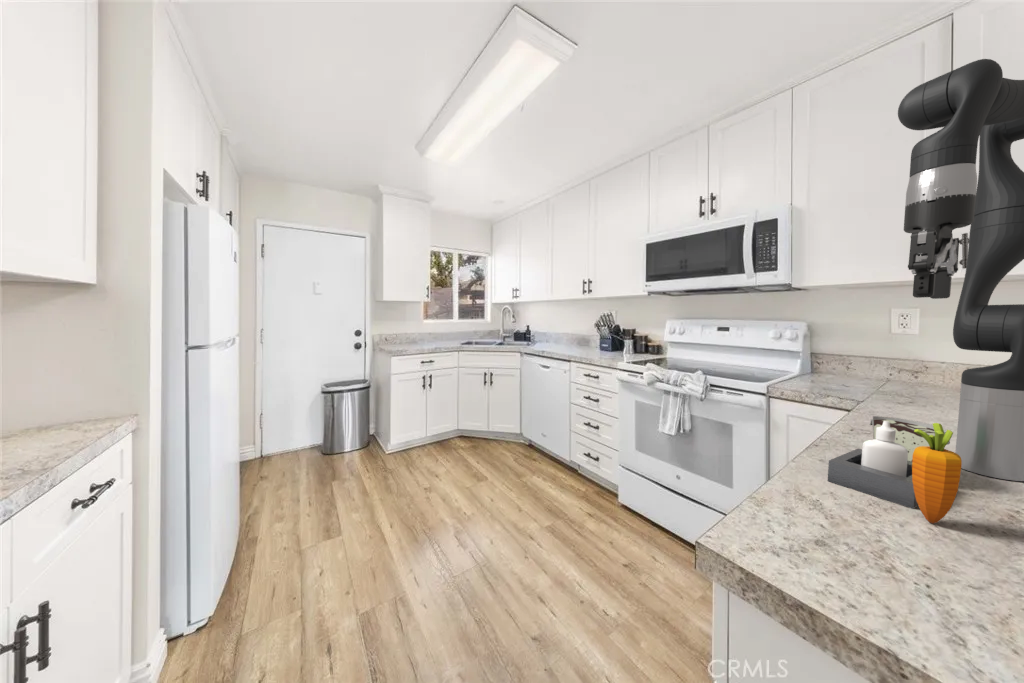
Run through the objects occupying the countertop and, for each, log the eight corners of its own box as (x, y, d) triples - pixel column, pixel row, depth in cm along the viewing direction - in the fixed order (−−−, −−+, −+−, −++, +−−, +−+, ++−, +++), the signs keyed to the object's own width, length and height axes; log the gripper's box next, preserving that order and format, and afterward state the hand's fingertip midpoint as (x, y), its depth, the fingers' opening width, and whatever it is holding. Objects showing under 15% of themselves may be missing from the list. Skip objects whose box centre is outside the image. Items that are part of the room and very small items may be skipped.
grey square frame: (856, 467, 73) (858, 448, 73) (938, 490, 63) (940, 468, 63) (827, 481, 67) (828, 460, 66) (913, 508, 57) (915, 484, 57)
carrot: (944, 535, 50) (953, 431, 49) (898, 516, 55) (905, 421, 54) (966, 530, 51) (975, 428, 50) (919, 512, 56) (926, 419, 55)
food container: (969, 489, 64) (973, 434, 63) (934, 488, 64) (938, 434, 63) (896, 461, 76) (899, 415, 75) (866, 461, 76) (870, 415, 75)
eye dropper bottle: (865, 477, 68) (869, 416, 68) (908, 489, 63) (913, 423, 63) (856, 482, 66) (860, 419, 65) (900, 495, 61) (905, 427, 61)
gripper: (920, 212, 65) (913, 300, 66) (890, 199, 59) (884, 298, 60) (987, 200, 59) (978, 298, 60) (962, 184, 52) (953, 295, 53)
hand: (931, 297), depth 60 cm, fingers open, 8 cm apart
